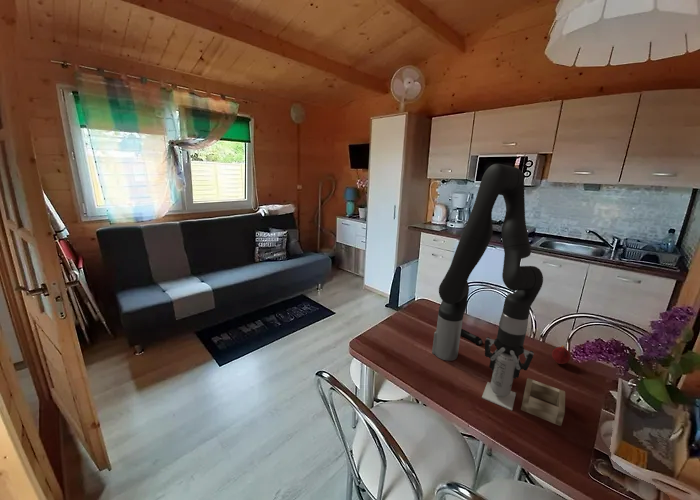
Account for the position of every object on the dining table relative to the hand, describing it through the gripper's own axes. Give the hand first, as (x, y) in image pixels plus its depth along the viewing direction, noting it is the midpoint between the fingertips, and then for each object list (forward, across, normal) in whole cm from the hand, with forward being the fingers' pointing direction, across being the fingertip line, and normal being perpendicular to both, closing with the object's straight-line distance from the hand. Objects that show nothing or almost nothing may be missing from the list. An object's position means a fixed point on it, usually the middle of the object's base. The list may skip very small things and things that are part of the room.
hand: (503, 372), depth 98 cm
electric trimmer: (+10, +19, -30) cm, 37 cm away
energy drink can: (+7, 0, 0) cm, 7 cm away
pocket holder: (+9, -12, -3) cm, 15 cm away
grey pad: (+9, 0, 0) cm, 9 cm away
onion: (+9, -16, -33) cm, 38 cm away
